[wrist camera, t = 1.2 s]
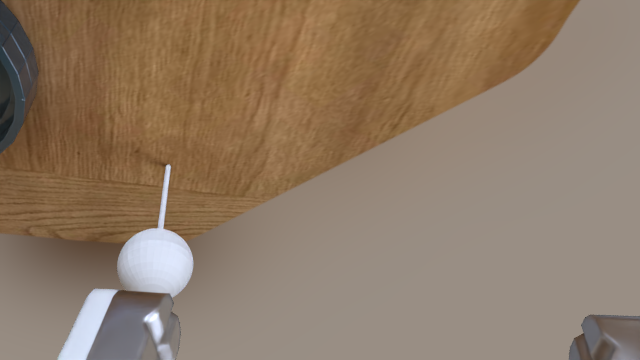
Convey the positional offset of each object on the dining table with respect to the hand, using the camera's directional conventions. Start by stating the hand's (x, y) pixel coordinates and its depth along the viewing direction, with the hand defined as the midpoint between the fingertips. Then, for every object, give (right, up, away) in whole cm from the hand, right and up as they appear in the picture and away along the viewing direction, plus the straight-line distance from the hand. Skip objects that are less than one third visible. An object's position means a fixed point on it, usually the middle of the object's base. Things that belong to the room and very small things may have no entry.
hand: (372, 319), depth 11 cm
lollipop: (-16, +4, +42) cm, 46 cm away
